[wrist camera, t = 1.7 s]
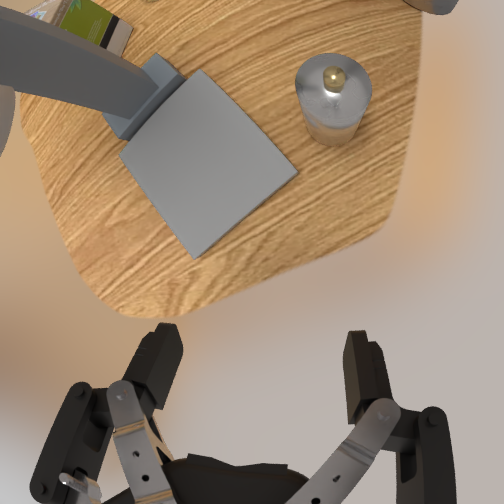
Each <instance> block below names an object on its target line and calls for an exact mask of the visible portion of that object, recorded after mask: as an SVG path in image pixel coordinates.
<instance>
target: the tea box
mask: <svg viewBox="0 0 504 504" xmlns="http://www.w3.org/2000/svg"><path fill="white" fill-rule="evenodd" d="M24 14H26V15H29V16H32V17H34V18H37V19H40V20H42V21H45V22H47V23H50V24H52V25H54V26H57V27H59V28H62V29H64V30H66V31H68V32H71V33H73V34H75V35H77V36H79V37H81V38H84V39H86V40H88V41H90V42H92V43H94V44H96V45H98V46H100V47H102V48H104V49H106V50H108V51H110V52H112V53H114V54H115V55H117V56H119V57H121V56H122V53H123V51H124V48H125V46H126V44H127V41H128V39H129V37H130V34H131V32H132V29H133V27H132V26H130V25H129V24H128V23H126V22H125V21H123V20H122V19H120V18H118V17H117V16H115V15H114V14H112V13H111V12H109V11H107V10H106V9H104V8H103V7H101V6H99V5H98V4H96V3H94V2H92V1H91V0H45V1H44V2H42V3H40V4H38V5H37V6H35V7H33V8H31V9H30V10H28V11H27V12H25V13H24Z"/></svg>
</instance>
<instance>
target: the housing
mask: <svg viewBox="0 0 504 504" xmlns="http://www.w3.org/2000/svg"><path fill="white" fill-rule="evenodd" d="M295 87H296V91H297V95H298V98H299V102H300V105H301V109H302V112H303V116H304V120H305V123H306V127H307V130H308V132H309V134H310V135H311V136H312V137H313V138H314V139H315V140H316V141H317V142H319V143H321V144H323V145H327V146H340V145H343V144H345V143H347V142H348V141H349V140H351V138H352V137H353V136H354V134H355V132H356V130H357V128H358V125H359V123H360V121H361V119H362V117H363V115H364V112H365V110H366V108H367V106H368V104H369V101H370V99H371V95H372V85H371V81H370V78H369V76H368V74H367V72H366V71H365V70H364V68H363V67H362V66H361V65H360V64H359V63H357V62H356V61H354V60H353V59H351V58H349V57H347V56H344V55H341V54H335V53H325V54H320V55H316V56H314V57H312V58H310V59H308V60H307V61H306V62H304V63H303V64H302V66H301V67H300V68H299V70H298V72H297V75H296V79H295Z"/></svg>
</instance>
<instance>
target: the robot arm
mask: <svg viewBox="0 0 504 504" xmlns="http://www.w3.org/2000/svg"><path fill="white" fill-rule="evenodd" d="M404 1H405V2H407V3H408V4H410V5H412V6H413V7H415V8H417V9H419V10H422V11H424V12H427V13H430V14H436V15H445V14H448V13H450V12H451V11H452V10H453V8H454V7H455V5H456V4H457V2H458V0H404ZM182 355H183V344H182V341H181V338H180V335H179V332H178V329H177V326H176V325H175V324H171V323H159V324H158V326H157V328H156V330H155V332H149V333H148V334H147V335H146V336H145V337H144V338H143V339H142V341H141V343H140V345H139V346H138V349H137V350H136V352H135V355H134V356H133V358H132V360H131V362H130V364H129V366H128V368H127V370H126V372H125V374H124V376H123V378H122V380H119V381H116V382H114V383H112V384H111V385H110V386H109V388H97V389H92V387H91V386H90V385H89V384H88V383H86V382H78V383H76V384H74V385H73V386H72V387H71V388H70V390H69V392H68V393H67V396H66V398H65V400H64V402H63V404H62V406H61V408H60V410H59V412H58V415H57V417H56V419H55V421H54V424H53V426H52V428H51V430H50V433H49V435H48V437H47V440H46V442H45V444H44V447H43V450H42V452H41V455H40V457H39V460H38V463H37V465H36V468H35V471H34V473H33V476H32V479H31V482H30V492H31V495H32V497H33V498H34V499H35V500H36V501H37V502H39V503H41V504H341V502H342V501H343V500H344V499H345V498H346V497H347V496H348V494H349V493H350V492H351V491H352V489H353V488H354V487H355V486H356V484H357V483H358V482H359V480H360V479H361V478H362V477H363V475H364V474H365V473H366V471H367V470H368V469H369V467H370V466H371V464H372V463H373V461H374V459H375V457H376V455H377V453H378V452H379V451H380V449H381V450H387V451H393V452H396V473H397V474H396V479H397V494H396V504H457V499H456V483H455V469H454V461H453V453H452V446H451V438H450V432H449V426H448V421H447V417H446V414H445V412H444V411H443V410H442V409H440V408H438V407H434V406H432V407H427V408H425V409H424V410H423V411H422V412H418V411H412V410H406V409H403V408H401V407H400V406H399V405H398V404H397V403H396V402H395V401H394V399H393V397H392V393H391V388H390V383H389V378H388V373H387V369H386V364H385V361H384V356H383V351H382V349H381V348H380V346H379V345H378V344H377V343H376V341H373V342H368V339H367V334H366V331H365V330H361V331H349V332H348V336H347V340H346V344H345V349H344V352H343V370H344V379H345V390H346V401H347V414H348V424H355V428H354V429H353V430H352V432H351V433H350V434H349V436H348V437H347V438H346V439H345V440H344V441H343V442H342V443H341V444H340V446H339V447H338V448H337V449H336V450H335V451H334V453H333V454H332V455H331V456H330V457H329V458H328V460H327V461H326V462H325V463H324V464H323V465H322V466H321V468H320V469H319V470H318V471H317V472H316V473H315V474H314V475H313V476H312V477H311V478H310V479H309V478H307V477H306V476H304V475H302V474H300V473H299V472H296V471H293V470H290V469H287V466H288V465H287V464H266V463H261V464H254V465H246V466H233V465H230V464H227V463H224V462H222V461H219V460H217V459H214V458H212V457H206V456H200V455H195V454H188V456H187V458H183V459H177V460H174V458H173V456H172V454H171V453H170V451H169V449H168V448H167V446H166V444H165V442H164V440H163V437H162V435H161V433H160V430H159V428H158V425H157V423H156V421H155V418H154V416H153V412H154V409H160V410H163V408H164V405H165V402H166V399H167V396H168V393H169V391H170V388H171V385H172V383H173V380H174V377H175V375H176V372H177V369H178V366H179V364H180V361H181V358H182ZM114 427H115V432H113V429H114ZM112 433H113V440H114V443H115V446H116V449H117V453H118V456H119V459H120V462H121V465H122V467H123V470H124V473H125V476H126V479H127V481H128V484H129V486H130V487H129V488H128V489H126V490H124V491H122V492H121V493H119V494H117V495H116V496H114V497H112V498H111V499H109V500H107V501H105V502H104V503H101V501H100V498H101V496H102V494H101V492H100V487H99V485H98V484H97V478H98V475H99V472H100V469H101V466H102V462H103V459H104V456H105V453H106V450H107V447H108V444H109V441H110V438H111V435H112Z"/></svg>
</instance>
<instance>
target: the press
mask: <svg viewBox="0 0 504 504" xmlns="http://www.w3.org/2000/svg"><path fill="white" fill-rule="evenodd" d="M15 91H17V92H23V93H28V94H33V95H38V96H42V97H47V98H51V99H56V100H60V101H64V102H68V103H72V104H76V105H80V106H84V107H87V108H91V109H95V110H98V111H102V112H103V113H102V115H103V117H104V118H105V120H106V121H107V123H108V124H109V126H110V127H111V129H112V130H113V131H114V133H115V134H116V136H117V137H118V139H123V140H127V141H129V142H128V144H127V145H126V146H125V147H124V149H123V150H122V151H121V152H120V154H119V157H120V158H121V160H122V161H123V163H124V164H125V166H126V167H127V169H128V170H129V171H130V173H131V174H132V176H133V177H134V179H135V180H136V182H137V183H138V184H139V186H140V187H141V189H142V190H143V192H144V193H145V194H146V196H147V197H148V199H149V200H150V201H151V203H152V204H153V206H154V207H155V208H156V210H157V211H158V212H159V214H160V215H161V217H162V218H163V219H164V221H165V222H166V223H167V225H168V226H169V227H170V229H171V230H172V231H173V233H174V234H175V235H176V237H177V238H178V239H179V241H180V242H181V243H182V245H183V246H184V247H185V249H186V250H187V251H188V253H189V254H190V255H191V257H192V258H193V259H194V260H195V259H197V258H199V257H201V256H202V255H203V254H204V253H205V252H206V251H207V250H209V249H210V248H211V247H212V246H213V245H214V244H215V243H217V242H218V241H219V240H220V239H221V238H222V237H224V236H225V235H226V234H227V233H228V232H229V231H231V230H232V229H233V228H234V227H235V226H236V225H238V224H239V223H240V222H241V221H242V220H243V219H245V218H246V217H247V216H248V215H249V214H250V213H252V212H253V211H254V210H255V209H256V208H258V207H259V206H260V205H261V204H262V203H264V202H265V201H266V200H267V199H268V198H269V197H271V196H272V195H273V194H274V193H275V192H277V191H278V190H279V189H280V188H282V187H283V186H284V185H285V184H286V183H288V182H289V181H290V180H291V179H292V178H294V177H295V176H296V175H297V174H299V172H298V171H297V170H296V169H295V168H294V166H293V165H292V164H291V163H290V162H289V161H288V159H287V158H286V157H285V156H284V155H283V154H282V153H281V151H280V150H279V149H278V148H277V147H276V146H275V145H274V144H273V142H272V141H271V140H270V139H269V138H268V137H267V136H266V135H265V134H264V133H263V131H262V130H261V129H260V128H259V127H258V126H257V125H256V124H255V123H254V122H253V121H252V120H251V119H250V118H249V116H248V115H247V114H246V113H245V112H244V111H243V110H242V109H241V108H240V107H239V106H238V105H237V104H236V103H235V102H234V101H233V100H232V99H231V98H230V97H229V96H228V95H227V94H226V93H225V92H224V91H223V90H222V89H221V88H220V87H219V86H218V85H217V84H216V83H215V82H214V81H213V80H212V79H211V78H210V77H209V76H207V75H206V74H205V73H204V72H203V71H202V70H201V69H198V70H197V71H196V72H195V73H194V74H193V75H192V76H191V77H190V78H189V79H188V80H187V79H186V78H185V77H184V76H183V75H182V74H181V73H180V72H179V71H178V70H177V69H176V68H175V67H174V66H173V65H172V64H171V63H170V62H169V61H167V60H166V59H164V58H163V57H162V56H160V55H159V54H157V53H155V54H154V55H153V56H152V57H151V58H150V59H149V60H148V61H147V62H146V63H145V64H144V65H143V66H142V68H139V67H137V66H136V65H134V64H132V63H130V62H128V61H127V60H125V59H123V58H121V57H119V56H117V55H115V54H114V53H112V52H110V51H108V50H106V49H104V48H102V47H100V46H98V45H96V44H94V43H92V42H90V41H88V40H86V39H84V38H81V37H79V36H77V35H75V34H73V33H71V32H68V31H66V30H64V29H62V28H59V27H57V26H54V25H52V24H50V23H47V22H45V21H42V20H40V19H37V18H34V17H32V16H29V15H26V14H24V13H21V12H18V11H15V10H12V9H9V8H6V7H2V6H0V156H1V154H2V152H3V150H4V148H5V145H6V143H7V139H8V136H9V133H10V129H11V126H12V121H13V116H14V110H15Z"/></svg>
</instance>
